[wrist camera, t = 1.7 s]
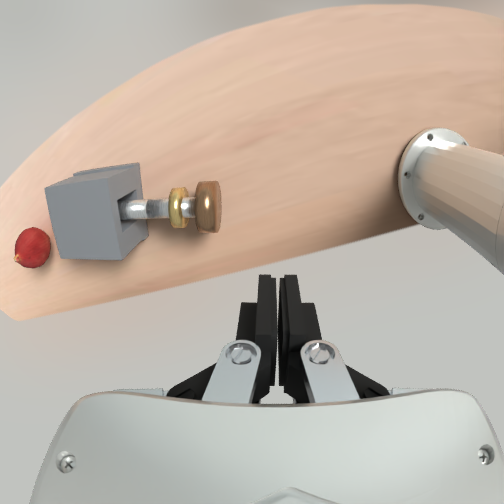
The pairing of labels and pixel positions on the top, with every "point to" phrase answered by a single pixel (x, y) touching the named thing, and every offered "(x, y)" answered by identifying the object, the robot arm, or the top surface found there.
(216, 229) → the shaft
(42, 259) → the onion
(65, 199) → the housing
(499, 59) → the top surface
